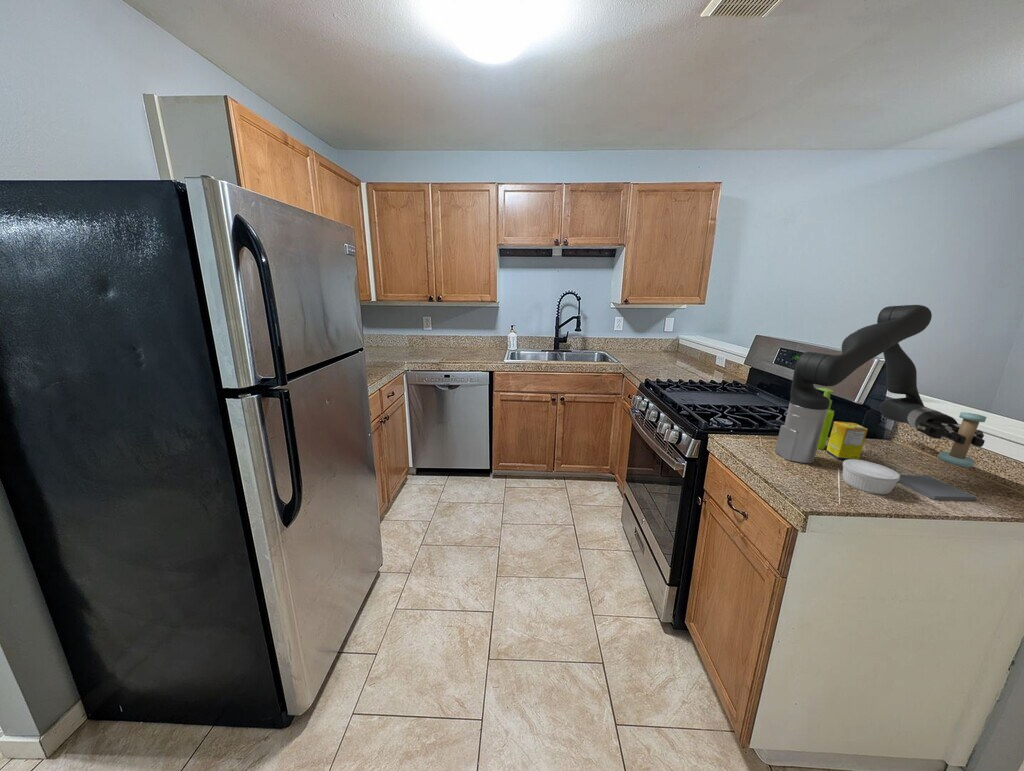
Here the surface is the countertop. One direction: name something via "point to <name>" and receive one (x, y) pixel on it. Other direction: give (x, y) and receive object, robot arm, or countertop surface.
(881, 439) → the countertop surface
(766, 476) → the countertop surface
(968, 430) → the teal-flanged spool
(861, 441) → the supplement box
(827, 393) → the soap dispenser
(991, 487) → the countertop surface
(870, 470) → the ramekin
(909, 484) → the mat
